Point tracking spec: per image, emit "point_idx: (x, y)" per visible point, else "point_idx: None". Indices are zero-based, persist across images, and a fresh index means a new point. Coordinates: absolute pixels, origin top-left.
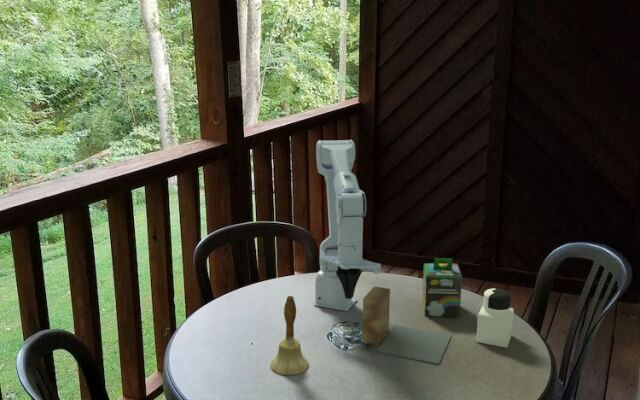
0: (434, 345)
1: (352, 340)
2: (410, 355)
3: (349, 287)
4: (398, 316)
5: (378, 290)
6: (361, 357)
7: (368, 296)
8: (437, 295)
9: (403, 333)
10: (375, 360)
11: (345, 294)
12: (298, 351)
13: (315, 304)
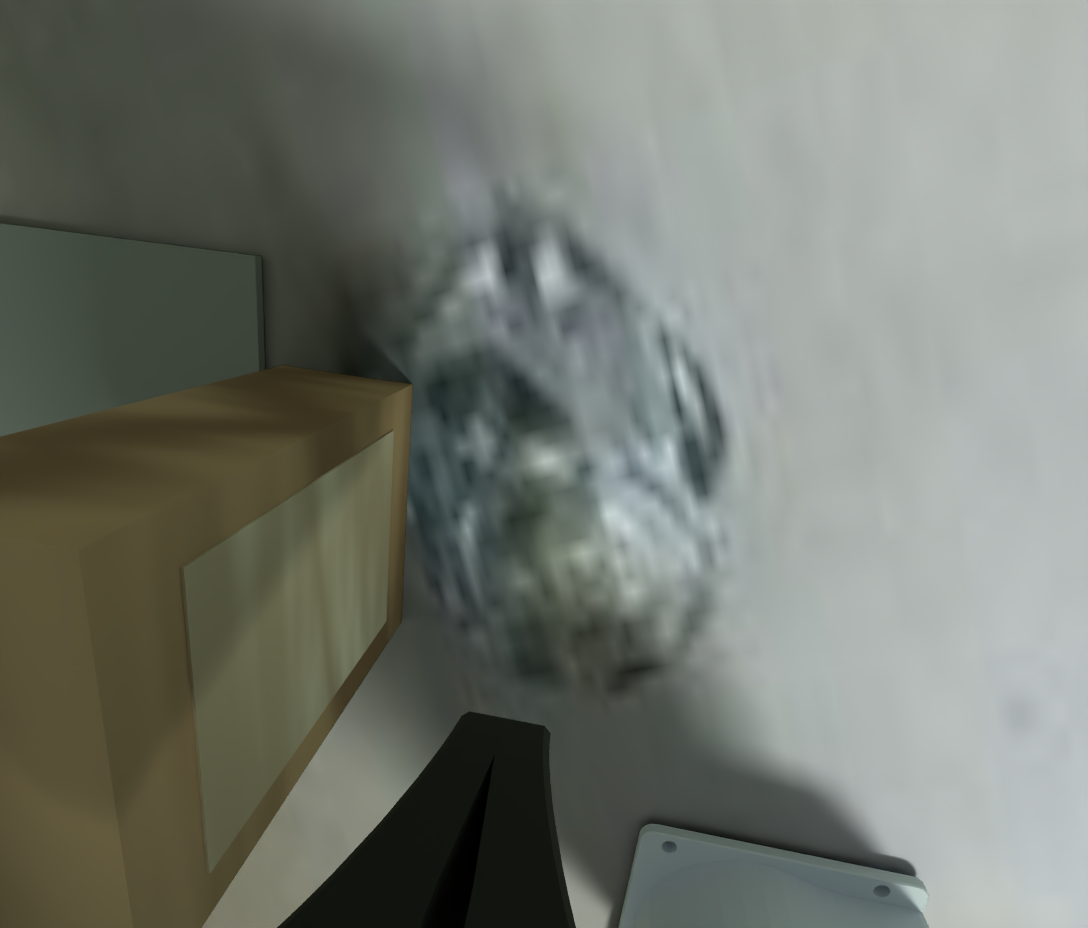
0: None
1: (495, 397)
2: (12, 259)
3: (394, 881)
4: (293, 801)
5: (25, 897)
6: (345, 120)
7: (48, 668)
8: None
9: None
10: (226, 106)
11: (532, 768)
12: None
13: (917, 884)
